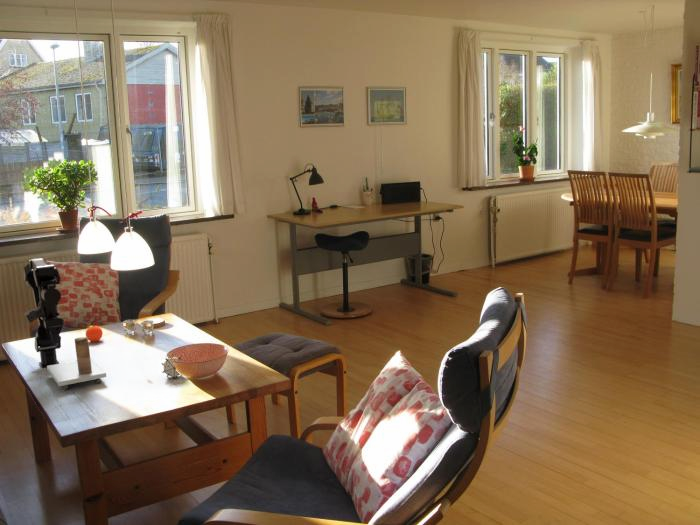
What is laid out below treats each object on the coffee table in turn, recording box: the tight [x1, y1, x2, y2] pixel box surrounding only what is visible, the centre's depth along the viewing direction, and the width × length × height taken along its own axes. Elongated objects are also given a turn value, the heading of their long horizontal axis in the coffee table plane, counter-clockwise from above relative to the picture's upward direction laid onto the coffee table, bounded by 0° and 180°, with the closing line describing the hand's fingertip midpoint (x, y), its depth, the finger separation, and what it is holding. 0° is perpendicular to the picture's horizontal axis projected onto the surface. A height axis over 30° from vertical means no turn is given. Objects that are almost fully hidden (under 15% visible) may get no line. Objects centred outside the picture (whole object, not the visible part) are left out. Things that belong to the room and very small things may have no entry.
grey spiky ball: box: [161, 353, 182, 380], centre depth 257 cm, size 9×8×10 cm
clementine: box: [84, 325, 103, 343], centre depth 308 cm, size 8×7×7 cm
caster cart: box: [46, 357, 107, 391], centre depth 258 cm, size 22×16×4 cm
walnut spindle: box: [74, 336, 92, 375], centre depth 252 cm, size 4×4×12 cm
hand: (52, 340), depth 263 cm, fingers open, 9 cm apart
